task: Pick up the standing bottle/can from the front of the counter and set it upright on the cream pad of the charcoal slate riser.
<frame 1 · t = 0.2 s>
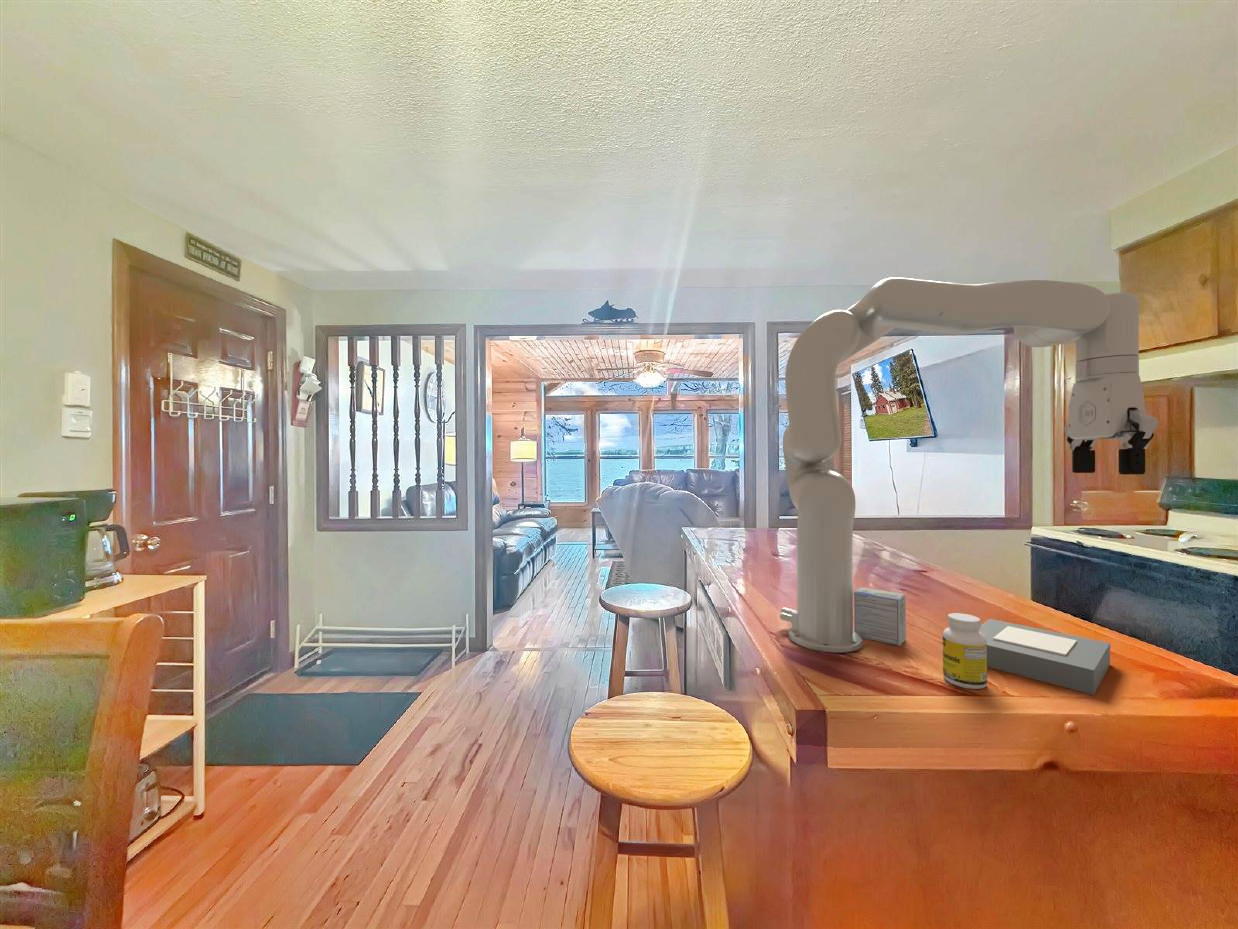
hand: (1106, 473, 82), 31 cm above the countertop, tool pointing down, fingers open, 9 cm apart
slate riser: (1034, 662, 80), on the countertop
supplement bottle: (964, 683, 73), on the countertop
medicine box: (879, 639, 92), on the countertop
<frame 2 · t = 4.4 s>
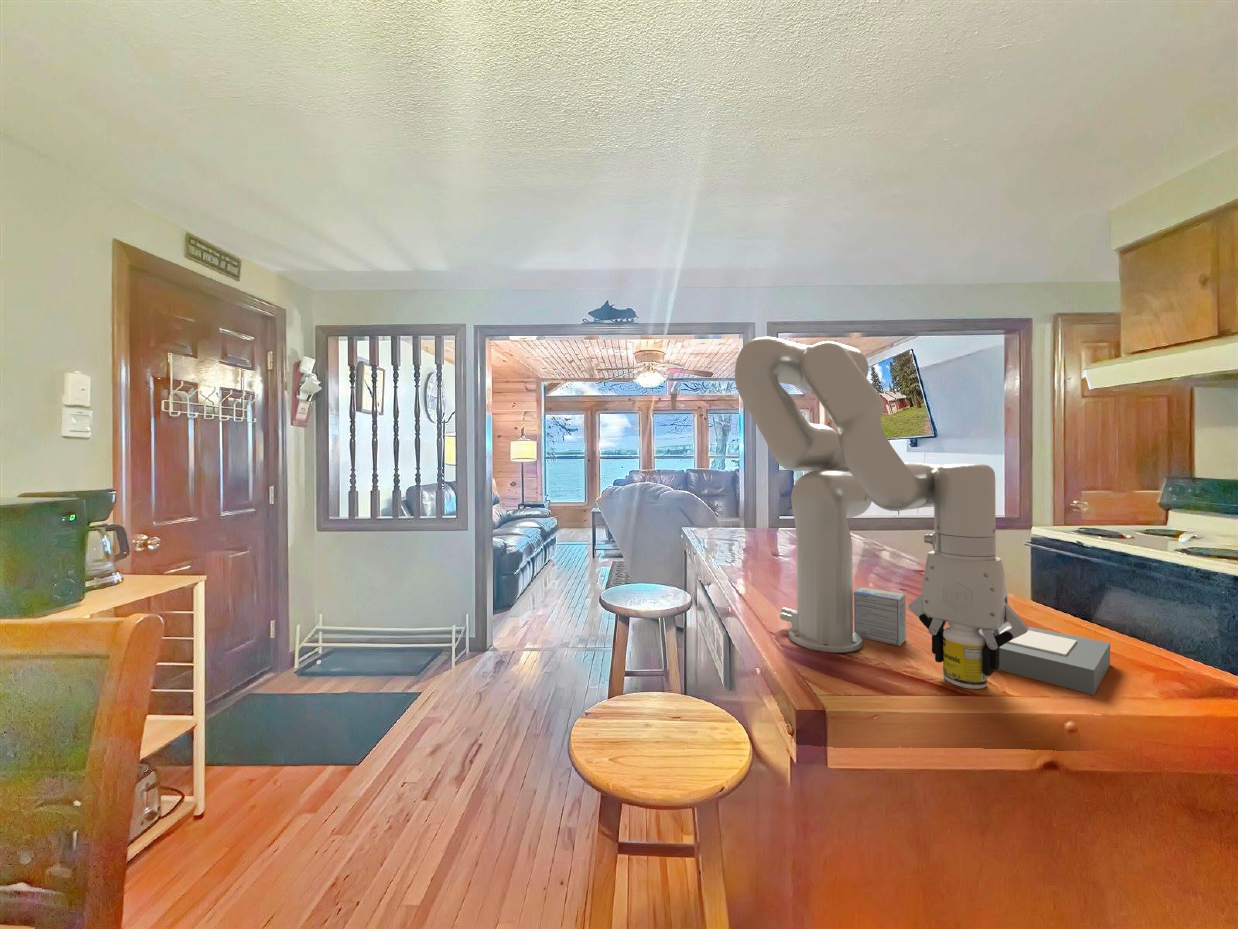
hand: (964, 665, 73), 2 cm above the countertop, tool pointing down, fingers closed on supplement bottle, 5 cm apart
supplement bottle: (964, 683, 73), on the countertop, touching gripper
everything else where it was.
when the fingers open (8 cm above the countertop, at t = 10.7 s): supplement bottle drops 1 cm, resting on slate riser.
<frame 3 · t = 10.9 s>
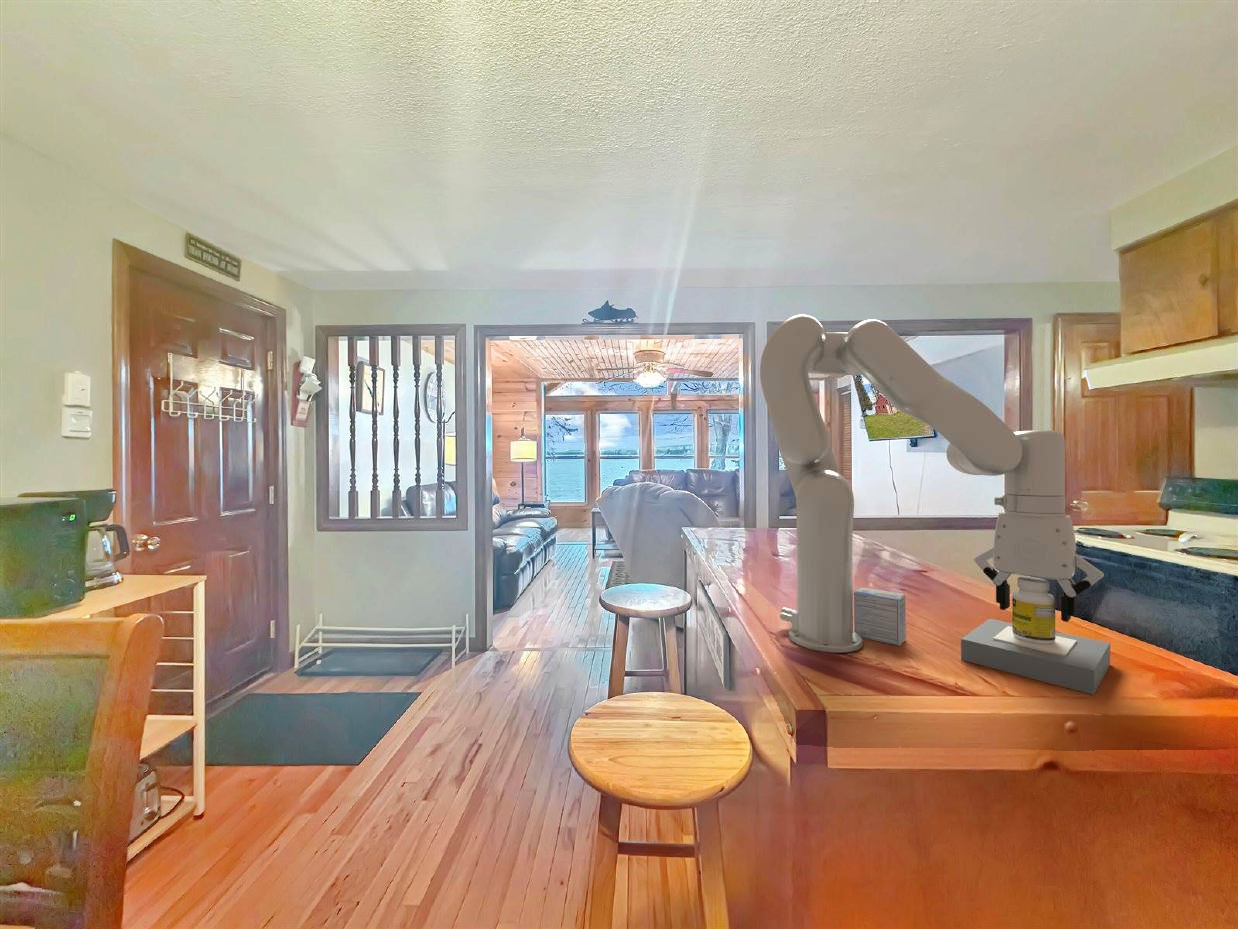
hand: (1034, 613, 80), 8 cm above the countertop, tool pointing down, fingers open, 7 cm apart
supplement bottle: (1033, 640, 80), point 4 cm above the countertop, touching slate riser
everything else where it was.
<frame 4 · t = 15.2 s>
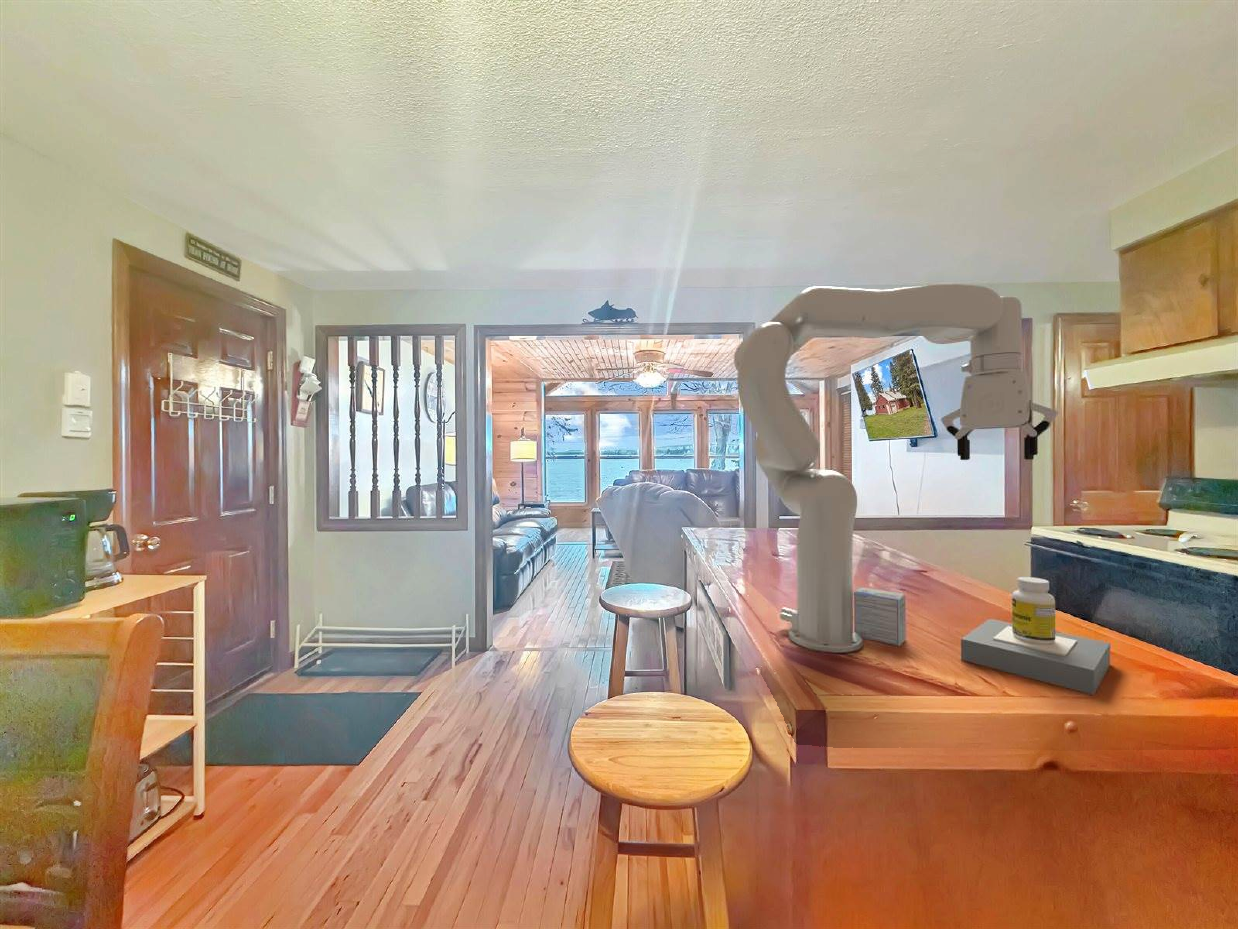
hand: (995, 459, 91), 33 cm above the countertop, tool pointing down, fingers open, 9 cm apart
nothing on the countertop moved.
at the end: supplement bottle inside the target area on the slate riser (0.1 cm from its centre), point 3.6 cm above the slate riser's base; supplement bottle tilted 0°; the gripper is holding nothing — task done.
